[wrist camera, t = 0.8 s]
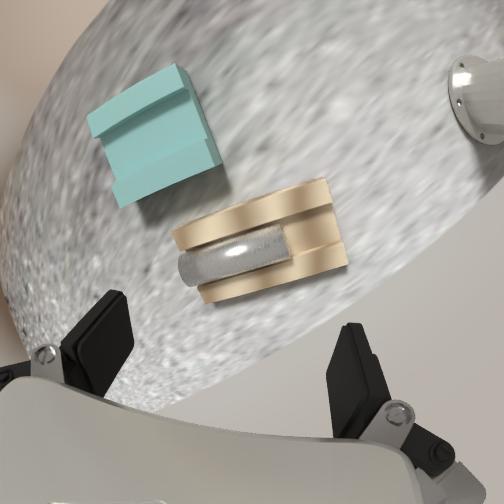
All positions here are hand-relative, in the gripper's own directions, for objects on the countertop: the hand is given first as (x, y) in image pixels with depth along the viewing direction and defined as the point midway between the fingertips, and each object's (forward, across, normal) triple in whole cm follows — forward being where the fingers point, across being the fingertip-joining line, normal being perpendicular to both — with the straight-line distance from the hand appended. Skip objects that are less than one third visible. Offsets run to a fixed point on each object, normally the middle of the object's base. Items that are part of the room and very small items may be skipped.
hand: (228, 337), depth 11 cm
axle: (+22, +2, +5) cm, 22 cm away
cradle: (+22, +13, -8) cm, 27 cm away
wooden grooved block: (+22, 0, +4) cm, 23 cm away
